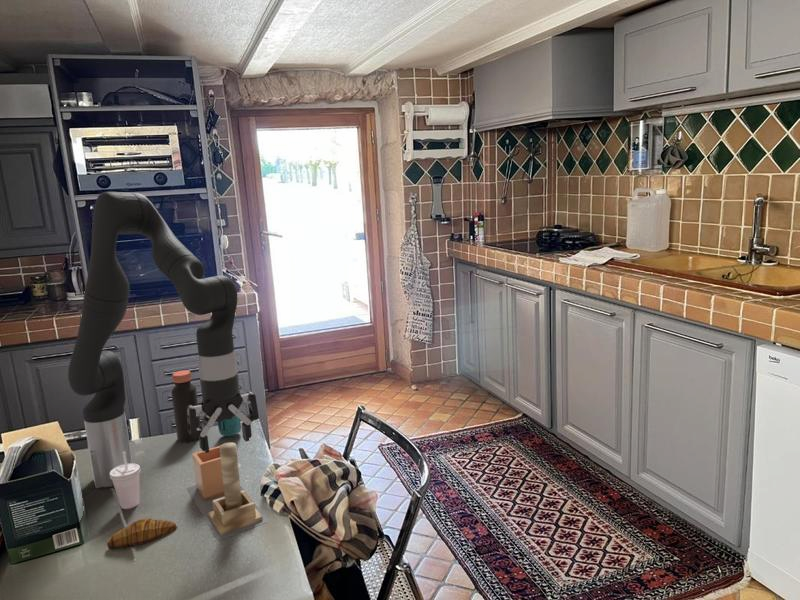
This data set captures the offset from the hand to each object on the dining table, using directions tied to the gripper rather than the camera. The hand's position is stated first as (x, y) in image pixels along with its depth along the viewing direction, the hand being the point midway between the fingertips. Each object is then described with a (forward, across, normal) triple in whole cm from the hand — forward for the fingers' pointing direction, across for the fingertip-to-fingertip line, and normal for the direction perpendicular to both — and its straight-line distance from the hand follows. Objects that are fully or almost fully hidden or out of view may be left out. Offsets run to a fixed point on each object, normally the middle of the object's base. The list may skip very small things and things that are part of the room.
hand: (226, 445), depth 123 cm
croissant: (+18, +18, -5) cm, 26 cm away
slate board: (+18, 0, -7) cm, 19 cm away
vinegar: (+19, -3, -52) cm, 55 cm away
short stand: (+17, 0, 0) cm, 17 cm away
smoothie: (+18, +18, -21) cm, 33 cm away
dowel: (+16, 0, 0) cm, 16 cm away
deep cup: (+17, 0, -15) cm, 23 cm away
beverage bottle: (+18, -13, -45) cm, 50 cm away
